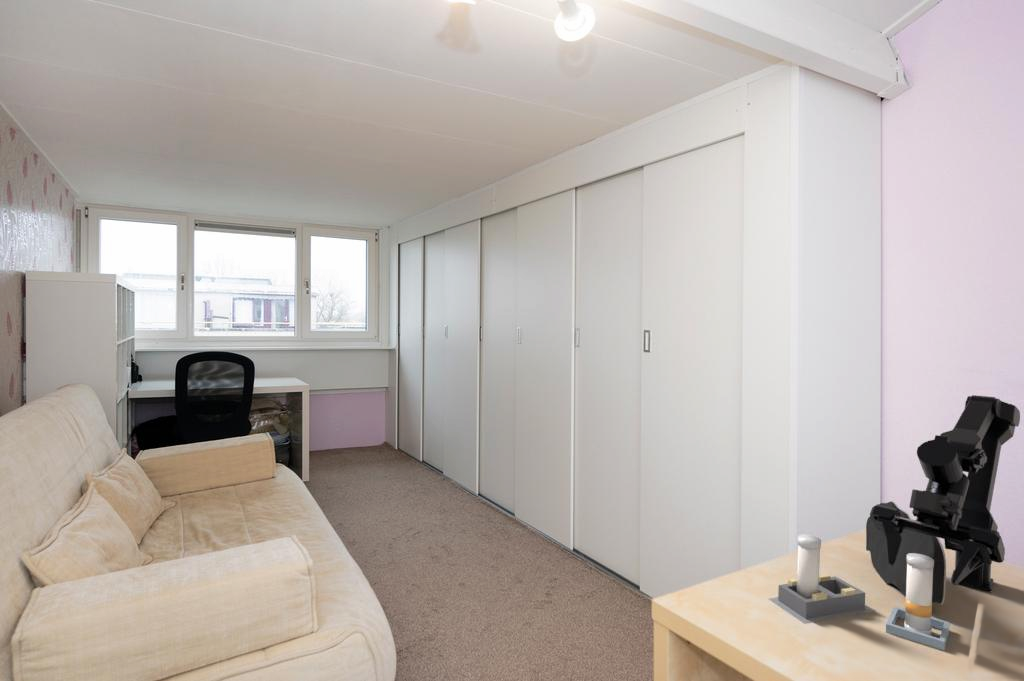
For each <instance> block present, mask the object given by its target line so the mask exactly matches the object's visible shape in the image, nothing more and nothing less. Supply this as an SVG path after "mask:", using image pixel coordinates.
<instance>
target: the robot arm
mask: <svg viewBox="0 0 1024 681" xmlns="http://www.w3.org/2000/svg"><path fill="white" fill-rule="evenodd" d="M1020 422H1021V412H1020V410H1019V408H1018V407H1017V406H1016V405H1014V404H1011V403H1008V402H1005V401H1002V400H1001V399H1000V398H996V397H995V396H985V395H975V394H974V395H969V396H967V398H966V400H965V404H964V409H963V411H962V413H961V415H960V416H959V418H958V420H957V421H956V423H955V425H954V427H953V429H952V430H949V431H945V432H941V433H940V435H937V434H935V436H934V439H931V440H927V441H925V442H923V443H921V444H920V445H919V446H917V449H916V455H917V458H918V461H919V463H920V466H921V468H922V470H923V474H924V475H925V477H926V478H927V479H928V481H927V484H926V488H925V490H921V489H920V490H919V489H912V491H911V495H910V501H909V505H908V506H909V508H911V509H912V512H911V513H912V515H913V516H914V517H916V520H915V519H912V518H911V519H908V518H904V517H902V516H901V514H900V512H899V510H898V509H896V508H892V507H888V506H883V505H879V504H880V503H879V504H876V505H874V506H872V507H871V510H870V513H869V516H871V518H872V520H873V522H874V524H875V526H876V528H877V529H878V530H880V531H882V534H883V535H884V536H886V540H887V550H888V561H889V565H890V566H893V564H894V562H895V560H896V557H897V554H898V550H899V547H900V544H901V540H902V538H901V536H900V534H901V533H902V532H903V528H904V529H907V530H911V531H915V532H919V533H923V534H927V535H931V536H935V537H938V538H939V539H943V540H944V548H945V550H951V551H954V552H955V555H954V556H955V557H954V558H955V561H954V562H955V563H954V569H953V571H952V573H951V577H950V578H951V579H950V581H951V583H952V585H953V586H955V587H957V585H963V586H966V587H971V588H975V589H978V588H979V590H982V589H983V590H982V591H986V590H987V591H986V592H990V591H992V592H993V589H992V588H994V579H993V578H991V576H992V563H993V562H994V563H999V564H1000V563H1003V562H1004V561H1005V554H1006V549H1005V548H1006V547H1005V545H1004V542H1003V539H1002V535H1000V532H999V531H998V527H999V526H998V524H997V523H996V520H995V519H994V517H993V515H992V513H991V507H992V500H993V495H994V491H995V485H996V478H997V472H998V469H999V468H998V466H999V461H1000V456H1001V449H1002V446H1003V445H1004V444H1006V442H1008V441H1009V440H1011V439H1012V438H1013V437H1014V434H1015V431H1016V427H1019V425H1020ZM964 472H965V473H967V475H966V474H965V473H964Z"/></svg>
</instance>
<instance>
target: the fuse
mask: <svg viewBox="0 0 1024 681" xmlns="http://www.w3.org/2000/svg"><path fill="white" fill-rule="evenodd" d="M821 548H822V540H821V539H820V537H817V536H816V535H812V534H805V533H804V534H803V533H802V534H799V535H798V536H797V565H796V566H797V568H796V570H797V573H796V576H797V577H796V578H797V593H798V594H799V595H801V596H802V597H804V598H806V599H810V598H812V594H814V593H819V575H820V565H821V564H820V560H821Z"/></svg>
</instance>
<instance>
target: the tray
mask: <svg viewBox="0 0 1024 681" xmlns="http://www.w3.org/2000/svg"><path fill="white" fill-rule="evenodd" d="M899 618H900V619H904V620H905V608H902V607H899V606H893V608H892V610H891V612H890V614H889V616H888V619H887V620H886V623H885V633H887V634H890V635H893V636H896V637H900V638H902V639H906V640H909V641H912V642H916V643H919V644H922V645H924V646H928V647H931V648H933V649H937V650H941V651H943V652H944V651H945V650H946V645H947V641H948V638H949V633H950V626H951V625H950V623H951V622H950V621H946V620H943V619H940V618H936V617H933V616H931V628H934V629H937V630H941V632H940V636H939V637H936V636H933V635H931V636H930V635H926V634H923V633H920V632H917V631H913V630H910V629H907V628H904V626H901V625H898V624H896V622H897V620H898V619H899Z"/></svg>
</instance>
